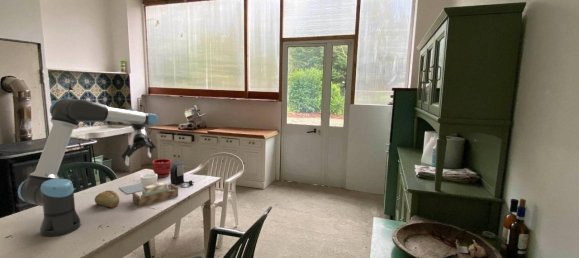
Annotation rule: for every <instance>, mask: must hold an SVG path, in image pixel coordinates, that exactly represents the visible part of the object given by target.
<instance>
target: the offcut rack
mask: <svg viewBox="0 0 579 258" xmlns="http://www.w3.org/2000/svg"><path fill="white" fill-rule="evenodd" d="M169 190H170V191H166V192H162V193H158V194H154V195H150V196H146V197H142V198H141V195H139V194H137V193H136V192H135V193H131V194H132V204H133V205H134V206H136V207H137V208H139V207H143V206H147V205H150V204H154V203H157V202H161V201H164V200H169V199H171V198H177V197H179V187H178V185H173V184H171V183H170V189H169Z"/></svg>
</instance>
